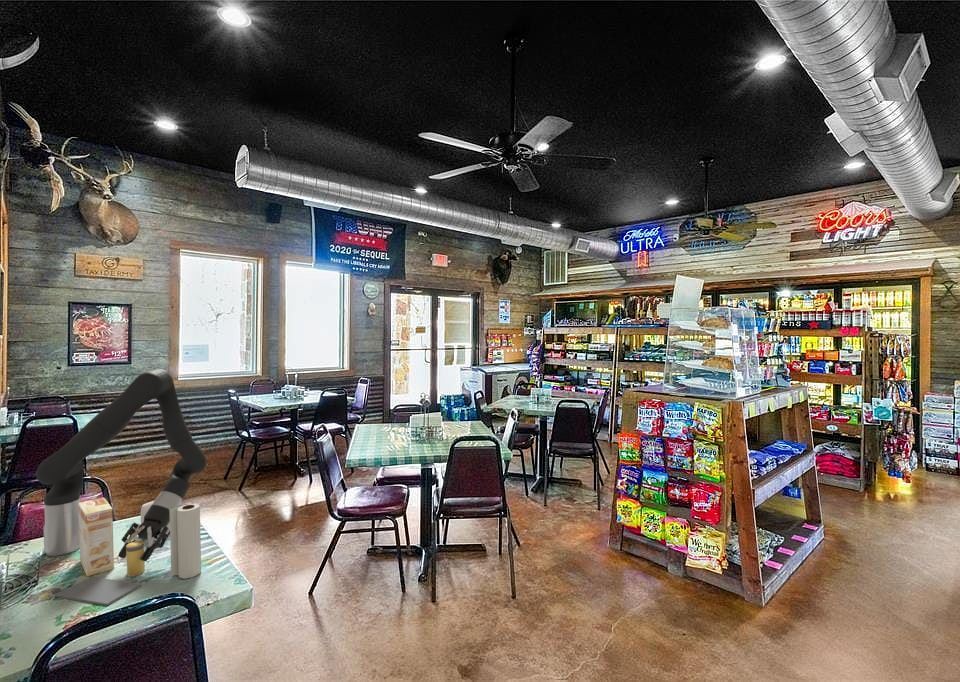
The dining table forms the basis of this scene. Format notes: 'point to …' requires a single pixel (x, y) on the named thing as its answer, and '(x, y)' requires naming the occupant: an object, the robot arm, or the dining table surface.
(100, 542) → the coffeecake box
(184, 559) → the paper towel roll
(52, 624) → the dining table surface
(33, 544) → the dining table surface
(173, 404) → the robot arm
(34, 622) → the dining table surface
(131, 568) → the yellow domed cylinder
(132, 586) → the slate mat
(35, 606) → the dining table surface
